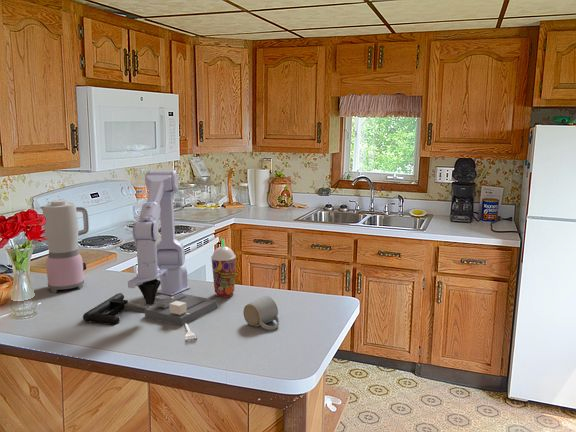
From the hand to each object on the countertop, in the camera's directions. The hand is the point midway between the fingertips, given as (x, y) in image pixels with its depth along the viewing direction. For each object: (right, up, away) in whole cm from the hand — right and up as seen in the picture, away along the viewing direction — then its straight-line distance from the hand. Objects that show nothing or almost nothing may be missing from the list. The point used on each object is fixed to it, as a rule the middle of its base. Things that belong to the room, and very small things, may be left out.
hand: (150, 304), depth 157 cm
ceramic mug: (+35, -6, -3) cm, 35 cm away
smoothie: (+20, -1, +23) cm, 31 cm away
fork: (+12, -7, -6) cm, 15 cm away
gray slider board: (+8, -4, +7) cm, 12 cm away
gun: (-12, -5, +8) cm, 15 cm away
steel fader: (+3, -1, +5) cm, 6 cm away
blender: (-38, +1, +33) cm, 50 cm away
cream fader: (+9, -2, 0) cm, 9 cm away
